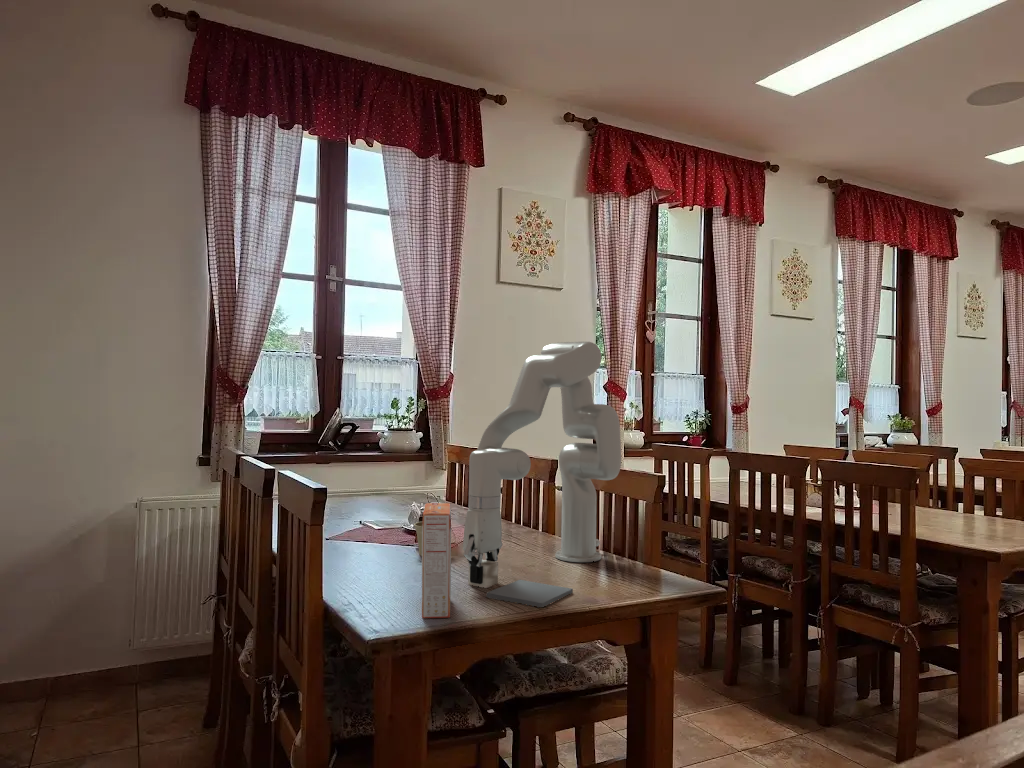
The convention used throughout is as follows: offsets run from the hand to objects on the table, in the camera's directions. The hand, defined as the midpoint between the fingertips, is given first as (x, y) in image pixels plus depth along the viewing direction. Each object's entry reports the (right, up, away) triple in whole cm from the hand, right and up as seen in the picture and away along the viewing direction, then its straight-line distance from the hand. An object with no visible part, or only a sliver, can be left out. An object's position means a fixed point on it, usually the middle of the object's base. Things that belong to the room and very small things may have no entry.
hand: (483, 579), depth 170 cm
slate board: (+11, -1, -9) cm, 14 cm away
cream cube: (0, -1, 0) cm, 1 cm away
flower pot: (-16, -2, +30) cm, 34 cm away
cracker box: (-9, -1, -20) cm, 22 cm away
